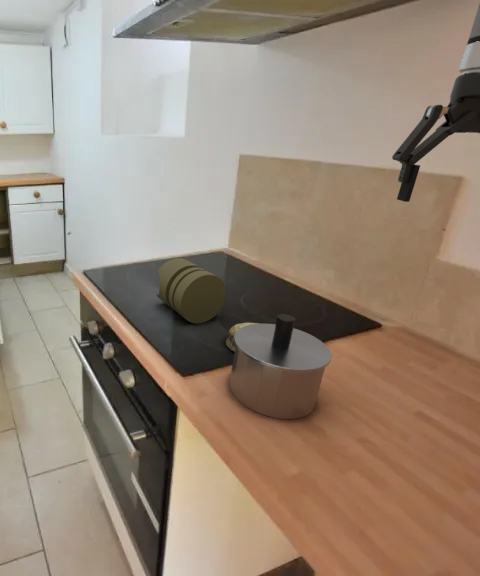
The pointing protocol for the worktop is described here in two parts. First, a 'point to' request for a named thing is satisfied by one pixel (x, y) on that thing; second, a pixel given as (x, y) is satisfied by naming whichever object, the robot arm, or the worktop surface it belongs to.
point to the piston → (191, 290)
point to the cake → (232, 332)
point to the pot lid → (282, 346)
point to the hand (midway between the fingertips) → (443, 201)
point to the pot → (273, 388)
